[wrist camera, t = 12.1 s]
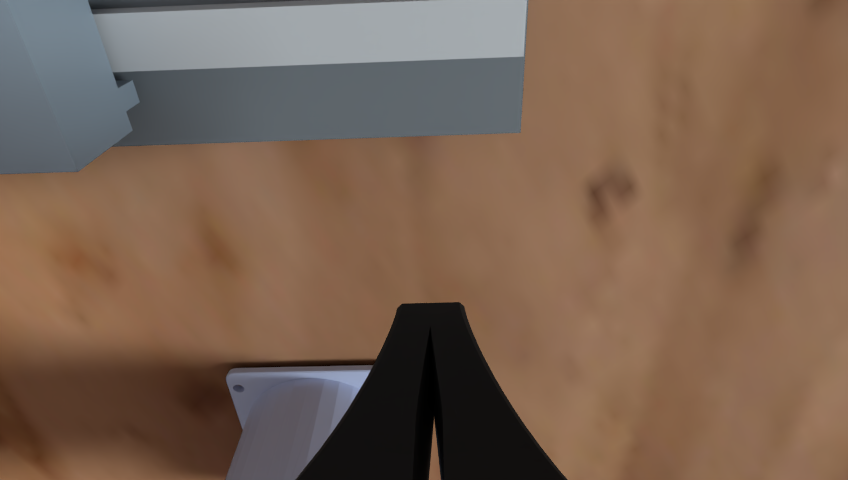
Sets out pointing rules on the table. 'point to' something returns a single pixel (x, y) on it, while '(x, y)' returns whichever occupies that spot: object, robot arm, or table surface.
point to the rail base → (315, 68)
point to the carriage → (56, 88)
